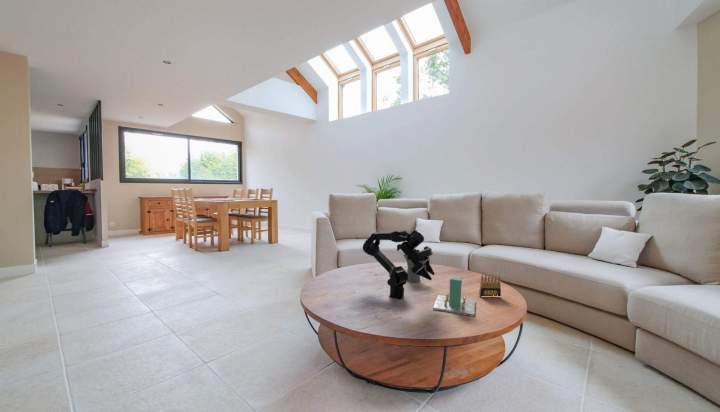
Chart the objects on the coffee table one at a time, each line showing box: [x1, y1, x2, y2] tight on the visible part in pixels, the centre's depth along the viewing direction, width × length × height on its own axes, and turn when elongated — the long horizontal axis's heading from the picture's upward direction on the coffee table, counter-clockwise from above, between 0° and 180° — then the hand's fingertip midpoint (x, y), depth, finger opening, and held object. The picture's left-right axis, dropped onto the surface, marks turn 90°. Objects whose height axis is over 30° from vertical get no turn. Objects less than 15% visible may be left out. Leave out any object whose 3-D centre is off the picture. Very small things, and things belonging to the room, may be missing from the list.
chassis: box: [432, 293, 476, 317], centre depth 145 cm, size 18×18×4 cm
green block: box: [448, 276, 463, 306], centre depth 145 cm, size 5×5×12 cm
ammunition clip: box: [478, 274, 502, 297], centre depth 157 cm, size 11×2×12 cm, turn 90°
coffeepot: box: [402, 254, 429, 283], centre depth 183 cm, size 15×9×18 cm, turn 62°
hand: (432, 277), depth 145 cm, fingers open, 9 cm apart
